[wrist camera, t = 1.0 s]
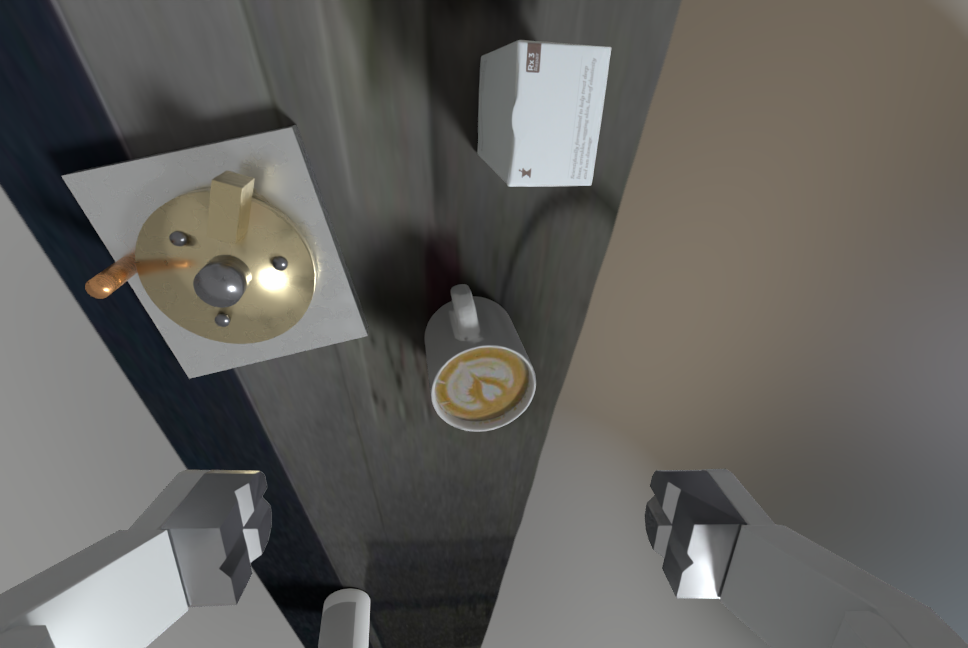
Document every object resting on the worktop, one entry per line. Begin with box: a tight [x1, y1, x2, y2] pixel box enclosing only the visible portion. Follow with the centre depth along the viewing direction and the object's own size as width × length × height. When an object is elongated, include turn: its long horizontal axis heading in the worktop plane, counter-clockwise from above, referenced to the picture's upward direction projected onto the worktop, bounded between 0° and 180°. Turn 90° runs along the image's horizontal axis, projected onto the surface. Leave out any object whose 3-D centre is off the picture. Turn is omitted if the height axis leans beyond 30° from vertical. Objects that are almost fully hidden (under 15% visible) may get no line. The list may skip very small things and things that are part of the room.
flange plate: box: [135, 170, 317, 344], centre depth 39 cm, size 16×14×5 cm
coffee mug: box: [425, 284, 536, 432], centre depth 46 cm, size 13×10×10 cm
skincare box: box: [477, 40, 611, 187], centre depth 34 cm, size 8×6×15 cm
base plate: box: [62, 125, 369, 378], centre depth 40 cm, size 20×18×7 cm
